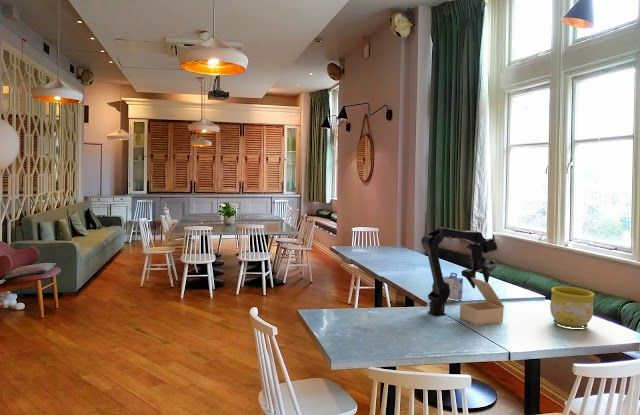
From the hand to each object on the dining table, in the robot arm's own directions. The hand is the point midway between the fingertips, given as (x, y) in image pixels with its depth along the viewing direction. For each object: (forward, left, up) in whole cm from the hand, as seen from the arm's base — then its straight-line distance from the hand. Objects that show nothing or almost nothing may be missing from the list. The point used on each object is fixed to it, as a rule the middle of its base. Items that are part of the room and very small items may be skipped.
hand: (480, 285), depth 249 cm
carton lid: (-7, -13, 0) cm, 15 cm away
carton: (-10, -13, -13) cm, 21 cm away
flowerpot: (+26, -32, -13) cm, 43 cm away
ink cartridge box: (0, +22, -13) cm, 25 cm away
